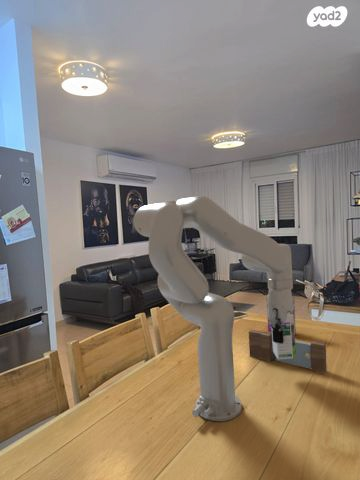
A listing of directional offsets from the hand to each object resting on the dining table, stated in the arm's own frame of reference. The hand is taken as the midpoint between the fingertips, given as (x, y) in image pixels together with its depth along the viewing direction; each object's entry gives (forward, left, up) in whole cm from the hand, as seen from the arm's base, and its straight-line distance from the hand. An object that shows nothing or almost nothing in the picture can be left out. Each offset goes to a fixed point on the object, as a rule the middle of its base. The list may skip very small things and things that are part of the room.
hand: (283, 337), depth 100 cm
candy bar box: (+36, +14, -13) cm, 40 cm away
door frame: (+9, +3, -13) cm, 16 cm away
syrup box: (0, 0, -6) cm, 6 cm away
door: (+8, 0, -12) cm, 15 cm away
